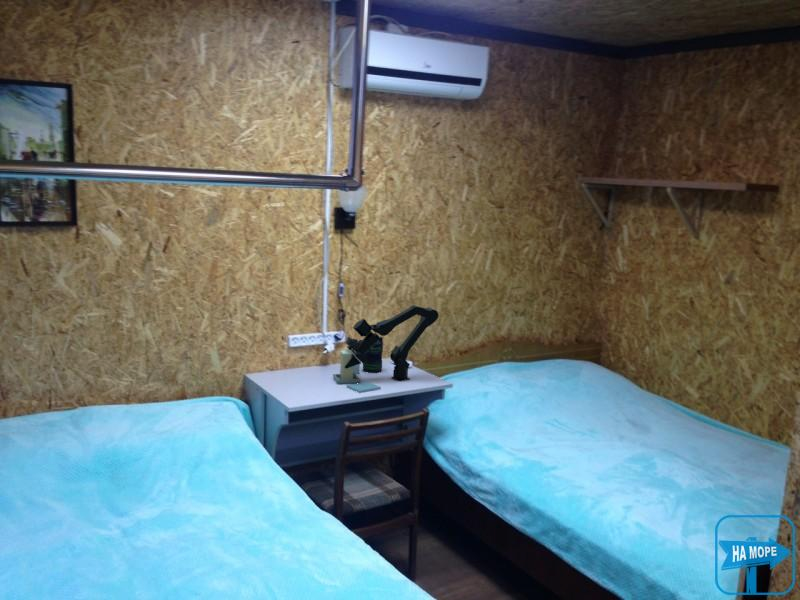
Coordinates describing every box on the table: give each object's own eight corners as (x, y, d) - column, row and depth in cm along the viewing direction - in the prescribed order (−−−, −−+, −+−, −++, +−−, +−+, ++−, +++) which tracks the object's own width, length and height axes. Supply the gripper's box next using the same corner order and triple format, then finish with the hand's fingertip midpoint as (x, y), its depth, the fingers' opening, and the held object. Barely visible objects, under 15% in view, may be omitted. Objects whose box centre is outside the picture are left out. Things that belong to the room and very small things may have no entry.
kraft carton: (350, 377, 326) (351, 350, 324) (352, 380, 322) (353, 352, 319) (340, 378, 325) (340, 350, 323) (342, 381, 320) (343, 353, 318)
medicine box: (341, 372, 338) (341, 355, 336) (346, 370, 342) (346, 353, 340) (354, 375, 334) (355, 358, 333) (359, 373, 338) (360, 356, 337)
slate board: (367, 383, 320) (367, 381, 320) (380, 389, 313) (380, 387, 312) (346, 387, 313) (346, 385, 313) (359, 392, 305) (359, 390, 305)
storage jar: (358, 369, 345) (360, 340, 343) (375, 367, 351) (376, 338, 348) (368, 374, 337) (370, 344, 335) (385, 372, 343) (387, 343, 340)
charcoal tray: (354, 377, 330) (354, 373, 330) (359, 383, 320) (360, 379, 320) (333, 378, 327) (333, 374, 326) (337, 384, 317) (337, 380, 316)
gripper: (351, 327, 330) (328, 350, 328) (360, 335, 312) (336, 359, 310) (367, 343, 333) (344, 365, 332) (376, 352, 316) (352, 376, 314)
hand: (343, 366), depth 322 cm, fingers closed on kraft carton, 5 cm apart
